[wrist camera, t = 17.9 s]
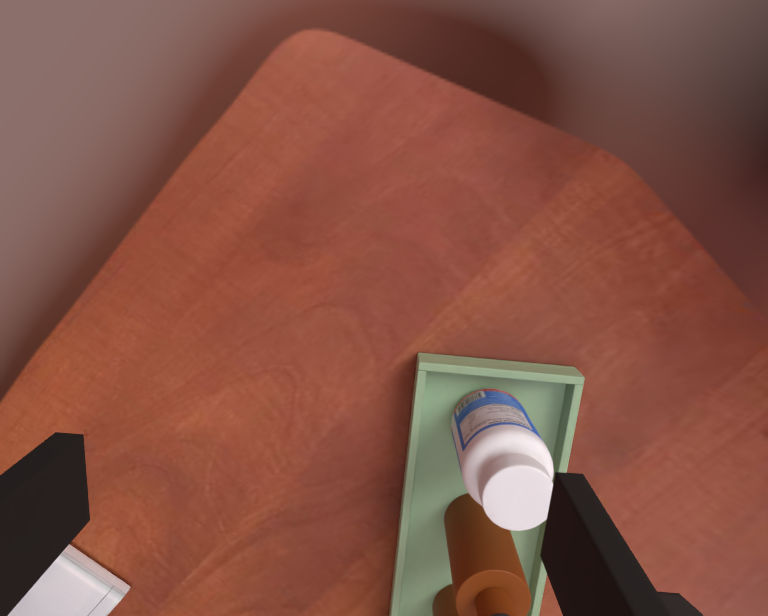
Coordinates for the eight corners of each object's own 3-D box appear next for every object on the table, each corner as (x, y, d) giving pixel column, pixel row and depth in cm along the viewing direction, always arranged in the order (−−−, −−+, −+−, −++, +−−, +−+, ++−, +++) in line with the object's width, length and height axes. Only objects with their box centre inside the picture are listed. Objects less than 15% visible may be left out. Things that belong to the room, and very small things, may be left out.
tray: (417, 351, 37) (418, 362, 35) (574, 366, 37) (585, 377, 35) (386, 640, 43) (385, 663, 41) (521, 653, 43) (527, 676, 41)
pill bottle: (519, 458, 38) (559, 550, 29) (445, 450, 38) (461, 540, 29) (531, 388, 37) (578, 460, 27) (455, 380, 37) (475, 450, 27)
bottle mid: (447, 489, 39) (467, 610, 28) (509, 494, 39) (552, 617, 28) (440, 542, 40) (456, 678, 29) (500, 547, 40) (539, 685, 29)
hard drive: (-68, 574, 41) (65, 662, 42) (-14, 505, 39) (121, 600, 41) (-50, 559, 42) (77, 644, 44) (2, 492, 41) (132, 584, 42)
